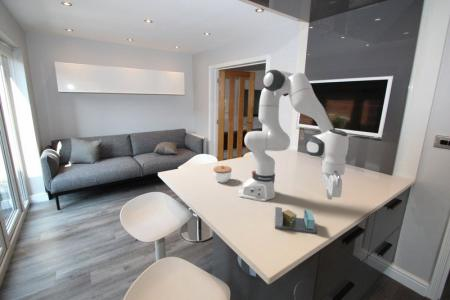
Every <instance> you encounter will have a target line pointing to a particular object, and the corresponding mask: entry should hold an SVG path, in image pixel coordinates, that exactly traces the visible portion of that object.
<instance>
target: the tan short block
mask: <svg viewBox="0 0 450 300" xmlns="http://www.w3.org/2000/svg"><path fill="white" fill-rule="evenodd" d="M282 214H283V222H285V223H286V224H288V225H289V226H290V225H293V224H295V223H296V218H298V217H297V216H298V215H297V214H296V213H295V212H293V211H292V210H290V209H285V210H282Z"/></svg>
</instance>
